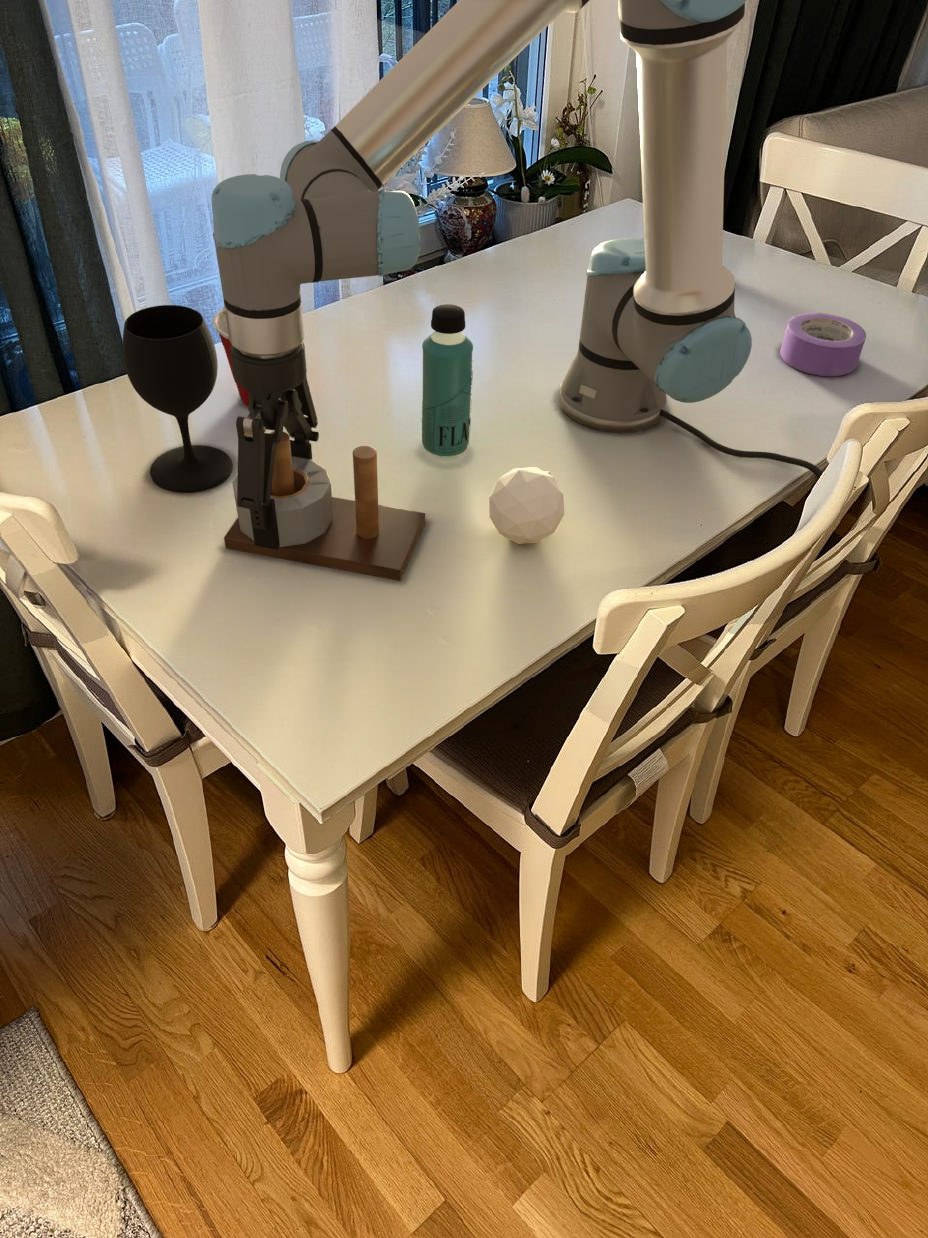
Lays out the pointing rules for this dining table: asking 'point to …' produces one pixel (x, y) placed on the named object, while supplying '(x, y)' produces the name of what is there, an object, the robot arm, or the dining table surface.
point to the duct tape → (298, 506)
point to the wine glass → (176, 389)
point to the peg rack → (346, 524)
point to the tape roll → (822, 344)
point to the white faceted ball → (526, 505)
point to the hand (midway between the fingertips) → (285, 516)
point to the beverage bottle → (446, 383)
